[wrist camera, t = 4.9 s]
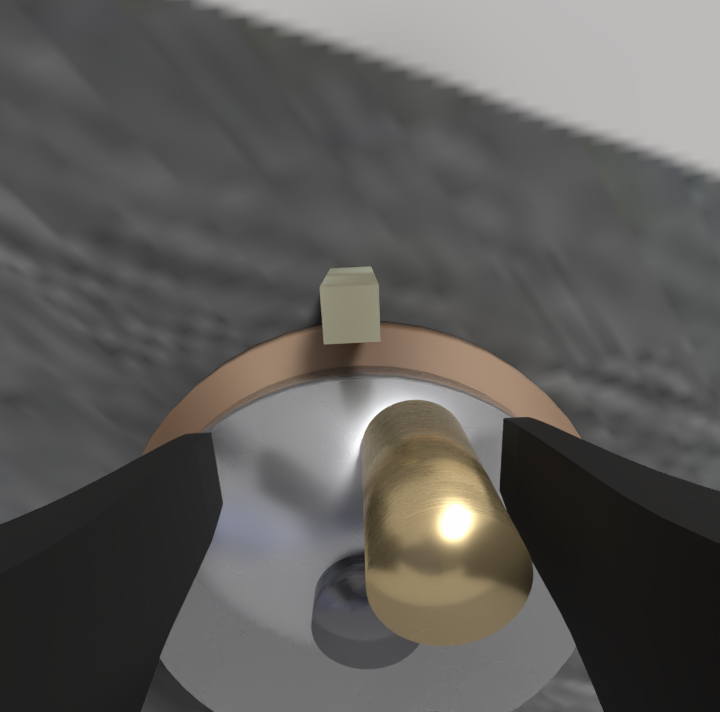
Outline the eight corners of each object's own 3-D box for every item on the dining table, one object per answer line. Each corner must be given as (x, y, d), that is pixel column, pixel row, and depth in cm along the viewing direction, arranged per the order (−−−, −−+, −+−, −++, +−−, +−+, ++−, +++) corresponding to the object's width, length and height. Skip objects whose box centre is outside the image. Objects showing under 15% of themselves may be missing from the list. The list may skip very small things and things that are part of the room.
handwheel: (497, 741, 17) (568, 994, 11) (133, 684, 15) (12, 935, 10) (651, 422, 13) (877, 572, 7) (176, 315, 11) (15, 396, 6)
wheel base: (181, 708, 18) (133, 841, 14) (77, 281, 12) (-45, 305, 9) (566, 689, 18) (625, 818, 14) (623, 253, 12) (744, 266, 9)
